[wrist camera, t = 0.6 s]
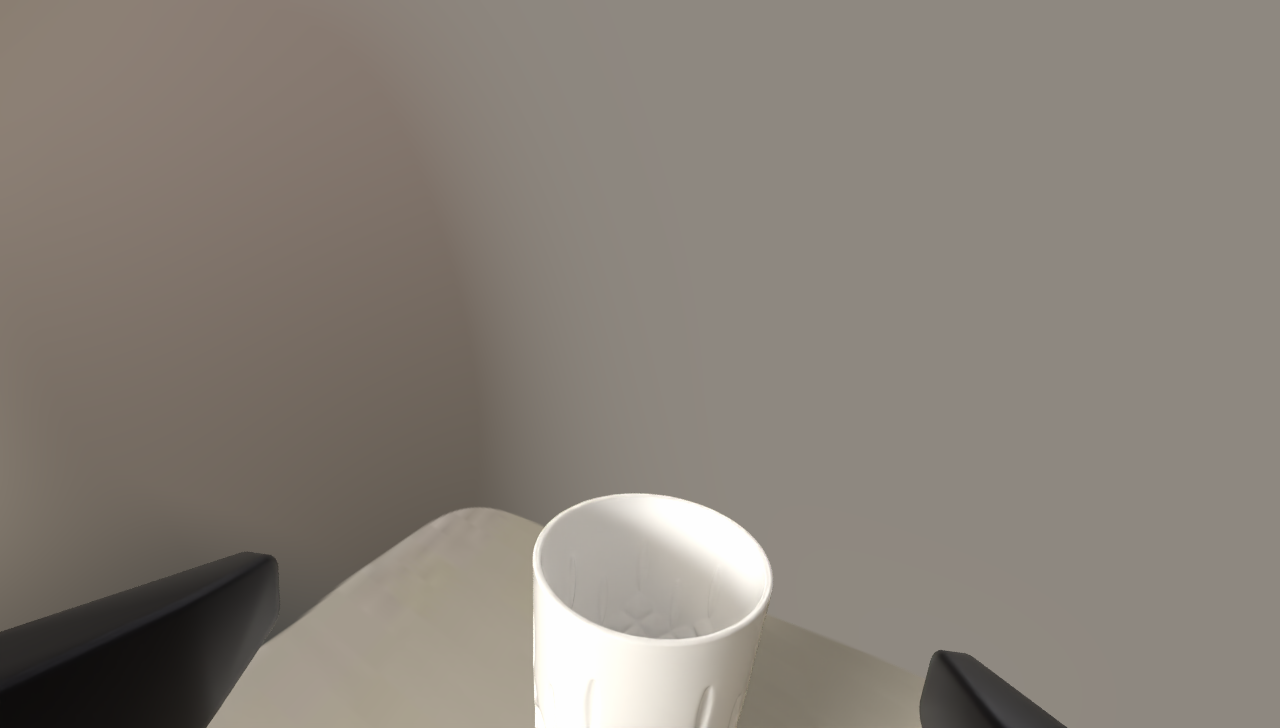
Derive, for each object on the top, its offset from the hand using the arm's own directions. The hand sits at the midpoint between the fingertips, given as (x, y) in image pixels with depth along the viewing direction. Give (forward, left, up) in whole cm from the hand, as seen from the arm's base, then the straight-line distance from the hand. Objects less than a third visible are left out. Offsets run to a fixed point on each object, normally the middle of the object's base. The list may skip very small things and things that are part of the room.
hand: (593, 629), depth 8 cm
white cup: (+11, -2, -17) cm, 20 cm away
